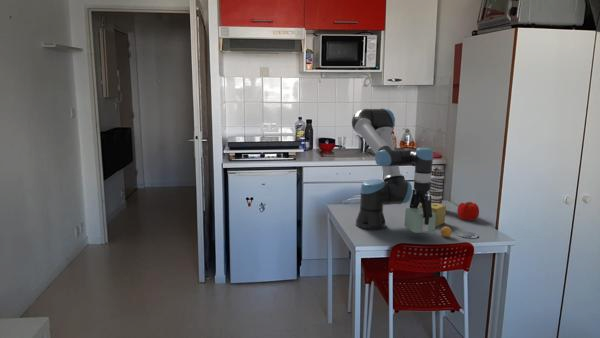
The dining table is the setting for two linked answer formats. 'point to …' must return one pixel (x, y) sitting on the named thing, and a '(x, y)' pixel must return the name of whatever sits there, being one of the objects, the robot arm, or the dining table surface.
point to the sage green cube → (418, 220)
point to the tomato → (468, 211)
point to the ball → (446, 231)
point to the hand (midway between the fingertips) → (419, 227)
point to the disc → (466, 234)
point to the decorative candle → (436, 185)
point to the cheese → (438, 212)
